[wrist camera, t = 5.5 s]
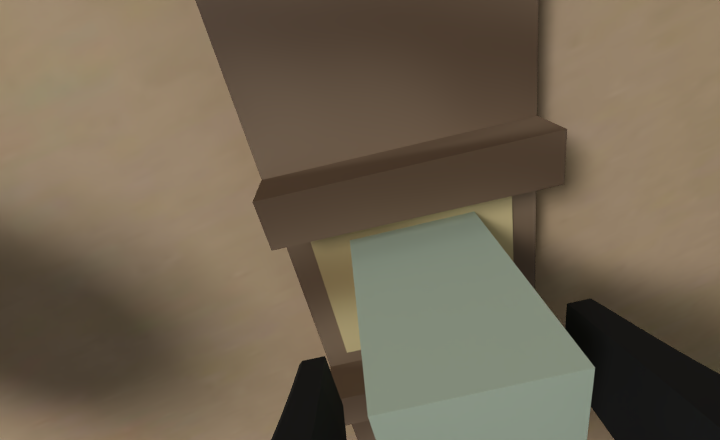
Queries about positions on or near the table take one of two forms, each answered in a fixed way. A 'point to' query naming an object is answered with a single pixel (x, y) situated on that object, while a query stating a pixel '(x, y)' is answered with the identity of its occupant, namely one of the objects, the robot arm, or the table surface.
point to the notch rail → (384, 135)
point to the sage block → (462, 340)
